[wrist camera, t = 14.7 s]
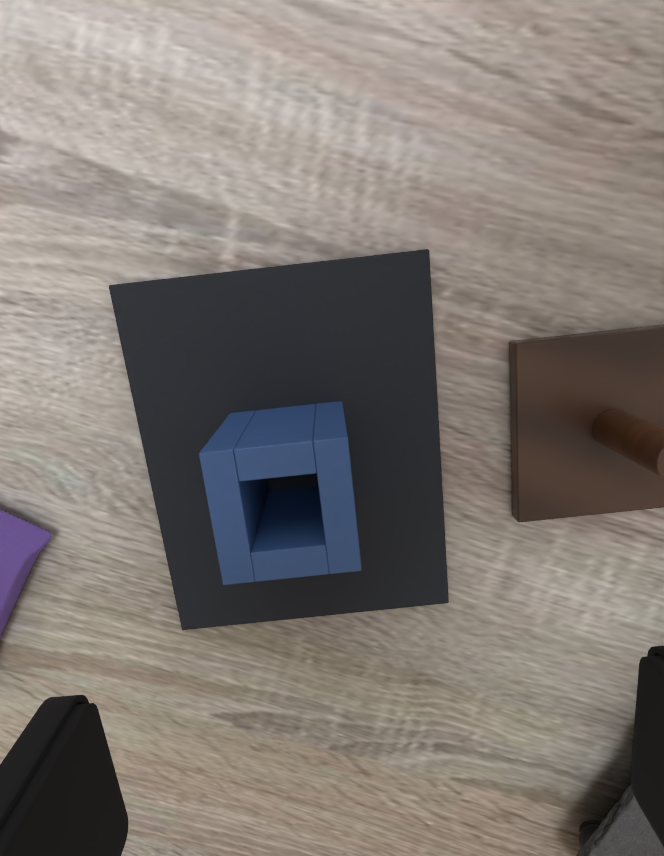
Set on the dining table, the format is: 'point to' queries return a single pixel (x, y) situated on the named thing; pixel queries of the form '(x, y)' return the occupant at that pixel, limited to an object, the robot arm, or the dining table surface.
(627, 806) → the serving tray
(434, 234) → the dining table surface
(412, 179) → the dining table surface
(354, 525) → the block
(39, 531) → the snack package
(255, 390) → the mat
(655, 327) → the dowel stand
